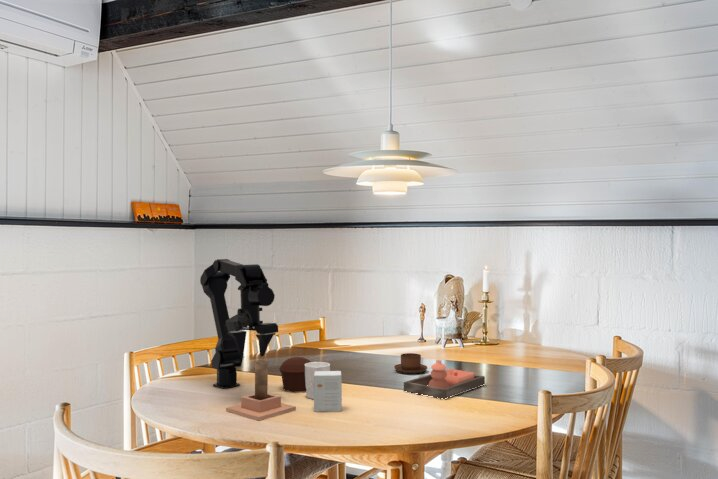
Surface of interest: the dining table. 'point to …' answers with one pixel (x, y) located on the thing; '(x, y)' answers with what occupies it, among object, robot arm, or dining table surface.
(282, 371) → the muffin
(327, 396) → the small box
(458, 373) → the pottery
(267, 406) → the pink square stand base
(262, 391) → the thick brown pillar
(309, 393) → the white cup
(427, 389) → the dark grey tray
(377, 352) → the dining table surface
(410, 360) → the cup and saucer
